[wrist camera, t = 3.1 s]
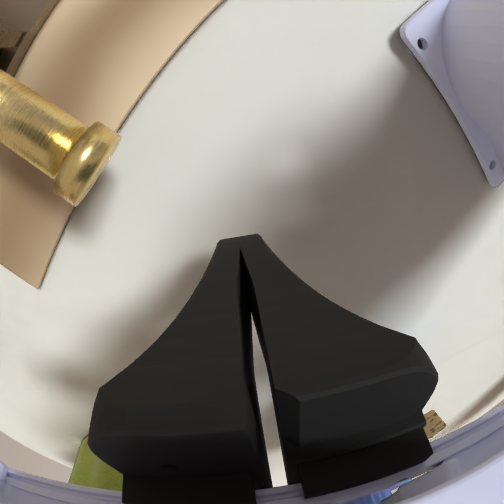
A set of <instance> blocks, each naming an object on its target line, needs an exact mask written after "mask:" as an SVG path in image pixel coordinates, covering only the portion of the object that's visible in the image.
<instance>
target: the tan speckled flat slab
mask: <svg viewBox="0 0 504 504" xmlns="http://www.w3.org/2000/svg"><path fill="white" fill-rule="evenodd" d="M424 417H425V419H426V423H427V425H426V426H425V427H423V428H424V430H425V433H426V435H427V438H428V439H429V438H432V437H433V436H434V435H435V434H437V433H438V432H439V431H441V430H443V429H444V428H445V427H446V424H445V423H444V421H442V419H441V418H440V417H439V416H438V415H437V413H436V412H435V411H434V410H431V411H430V412H428V413H426V414H424Z"/></svg>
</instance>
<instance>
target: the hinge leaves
mask: <svg viewBox="0 0 504 504" xmlns="http://www.w3.org/2000/svg"><path fill="white" fill-rule="evenodd" d="M59 1H60V0H0V69H1V70H3V71H4V72H6V73H8V74H9V75H11V76H12V77H15V75H16V73H17V71H18V69H19V67H20V65H21V63H22V61H23V59H24V57H25V55H26V54H27V52H28V50H29V48H30V46H31V45H32V43H33V41H34V39H35V38H36V36H37V34H38V33H39V31H40V30H41V28H42V26H43V25H44V23H45V22H46V20H47V19H48V17H49V15H50V14H51V13H52V11H53V10H54V8H55V7H56V5H57V4H58V2H59Z"/></svg>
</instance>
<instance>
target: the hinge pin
mask: <svg viewBox="0 0 504 504" xmlns="http://www.w3.org/2000/svg"><path fill="white" fill-rule="evenodd" d="M120 139H121V136H120V135H119V134H117V133H116V132H114V131H113V130H111V129H110V128H108V127H107V126H105V125H104V124H102V123H101V122H99V121H98V122H95V123H94V124H93V125H91V126H90V127H88V126H86V125H85V124H83V123H82V122H80V121H79V120H77V119H76V118H74V117H73V116H71V115H70V114H68V113H67V112H65V111H64V110H62V109H61V108H59V107H58V106H56V105H55V104H53V103H52V102H50V101H49V100H47V99H46V98H44V97H43V96H41V95H40V94H38V93H37V92H35V91H34V90H32V89H31V88H29V87H27V86H26V85H24V84H23V83H21V82H20V81H18V80H17V79H15V78H14V77H12V76H11V75H9V74H8V73H6V72H4V71H3V70H1V69H0V142H1V143H3V144H4V145H5V146H7V147H8V148H9V149H11V150H12V151H14V152H15V153H16V154H18V155H19V156H21V157H22V158H23V159H25V160H26V161H28V162H29V163H31V164H32V165H33V166H35V167H36V168H38V169H39V170H41V171H42V172H43V173H45V174H46V175H48V176H49V177H51V178H52V179H54V180H55V181H54V185H53V192H54V193H55V194H57V195H58V196H60V197H61V198H63V199H64V200H66V201H67V202H69V203H70V204H72V205H73V206H75V207H76V206H78V205H79V203H80V202H81V201H82V200H83V199H84V197H85V196H86V194H87V193H88V192H89V190H90V189H91V187H92V186H93V184H94V183H95V181H96V180H97V178H98V177H99V175H100V174H101V172H102V171H103V169H104V168H105V166H106V164H107V163H108V161H109V160H110V158H111V156H112V155H113V153H114V151H115V149H116V148H117V146H118V144H119V142H120Z"/></svg>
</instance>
